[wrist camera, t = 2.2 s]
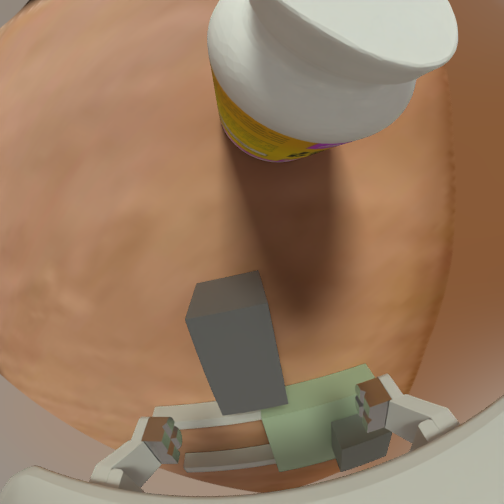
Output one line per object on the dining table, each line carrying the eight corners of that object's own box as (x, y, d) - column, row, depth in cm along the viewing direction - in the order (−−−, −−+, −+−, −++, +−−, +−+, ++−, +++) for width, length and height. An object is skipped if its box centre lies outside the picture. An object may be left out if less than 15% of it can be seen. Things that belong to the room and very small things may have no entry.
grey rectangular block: (276, 357, 19) (288, 403, 15) (223, 368, 19) (222, 415, 15) (258, 269, 18) (267, 302, 13) (196, 283, 18) (184, 319, 13)
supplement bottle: (269, 185, 16) (377, 202, 4) (196, 106, 15) (122, -38, 2) (347, 121, 16) (512, 60, 3) (279, 47, 14) (344, -103, 2)
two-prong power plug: (189, 459, 22) (185, 504, 16) (154, 404, 20) (139, 457, 14) (361, 425, 22) (382, 467, 17) (365, 363, 20) (397, 410, 14)
